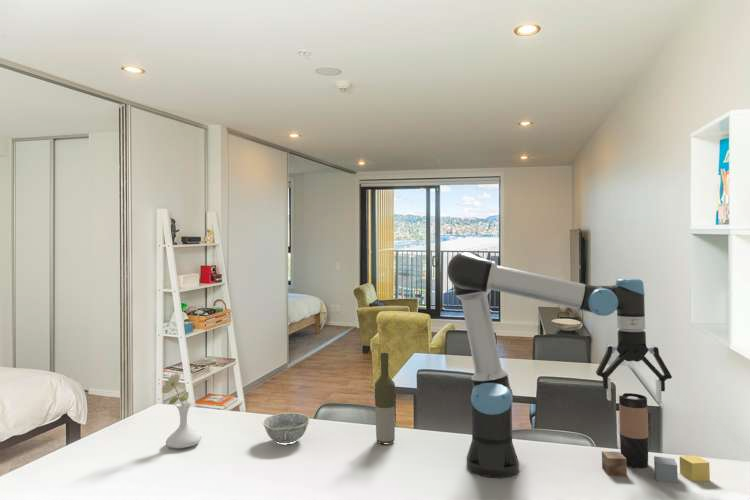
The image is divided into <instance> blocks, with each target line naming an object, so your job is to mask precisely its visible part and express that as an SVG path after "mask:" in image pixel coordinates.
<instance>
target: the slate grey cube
mask: <svg viewBox="0 0 750 500" xmlns="http://www.w3.org/2000/svg"><path fill="white" fill-rule="evenodd" d="M653 460H654V476H655V479H656V481H657V482H662V483H670V484H677V485H678V484H679V481H678V480H679V479H678V477H679V476H678V465H677V462H676V459H675V458H672V457H671V458H670V457H664V456H656V455H655V456H653Z"/></svg>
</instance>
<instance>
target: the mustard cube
mask: <svg viewBox="0 0 750 500" xmlns="http://www.w3.org/2000/svg"><path fill="white" fill-rule="evenodd" d="M679 474H680V475H681V476H683V477H684V478H686V479H688V480H690V481H691V482H707V481H708V482H709V481H710V479H711V476H710V475H711V472H710V462H709V461H707V460H706V459H704V458H702V457H700V456H698V455H682V456H681V455H679Z"/></svg>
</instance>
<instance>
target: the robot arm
mask: <svg viewBox="0 0 750 500" xmlns="http://www.w3.org/2000/svg"><path fill="white" fill-rule="evenodd" d="M446 270H447V277H448V279H449V281H450V282H451V283H452V284H453V288H454V295H455V297H456V298H458V299H459V300H460V301H461V305H462V306H461V307H462V312H463V317H464V322H465V328H466V332H467V337H468V342H469V347H470V353H471V359H472V363H473V364H472V365H473V368H474V373H473V375H472V376H471V383H472V390H471V396H470V401H471V443H470V445H469V448H468V451H467V455H466V468H468V470H469V471H471V472H472V473H474V474H476V475H479V476H483V477H488V478H499V479H500V478H508V477H512V476H514V475H516V474H517V473H518V472H519V471H520V464H519V463H520V461H519V458H518V455H517V452H516V448H515V446H514V442H513V402H514V400H513V399H514V395H513V390H512V389H511V386H510V380H509V375H508V372H507V371H505V370H504V369H503V368H502V365H501V360H500V355H499V350H498V345H497V339H496V334H495V327H494V325H493V318H492V314H491V310H490V309H491V308H490V304H489V298H488V295H489V293H490V292H491V291H496V292H500V293H504V294H507V295H508V294H509V295H512V296H513V295H514V296H518V297H522V298H525V299H526V298H528V299H530V300H531V299H532V300H534V301H539V302H540V301H541V302H545V303H550V304H553V305H557V306H562V307H566V308H571V309H576V310H578V311H583V312H589V313H592V314H595V315H596V316H603V317H604V316H606V317H607V316H610V315H612V314H613V313H615V311H616V314H617V317H616V322H617V323H616V327H617V328H618V330H617V346H616V345H615V346H614V345H611V344H607V345H606V351H605V353H604V355H603V357H602V359H601V361H600V363H599V365H598V366H597V369H596V371H595V374H596V375H597V376H598V377H601V378H602V387H603V388H604V390H605V389H606V399H607V401H610V402H612V387H611V386H612V383H611V382H612V381H611V380H612V379H611V378H610V376H611V375H612V374H613V373H614V371H615V370H617V368H618V367H619V366H620V365H621V364H622V363H623V362H625V361H626V362H636V363H637V362H638V363H639V362H641V361H642V362H643V363H644V365H646V366H647V367H648V368H649V370H651V371H652V373H653V374H654V375H656V377H657V378H656V379H655V396H656V397H655V399H656V402H657V403H658V404H662V400H663V399H662V396H663V395H662V392H665V390H666V380H670V379H672V378H673V376H672V375H671V372H670V371H669V369H668V367H667V365H666V364H665V363H664V360H663V359H662V357H661V356H660V353H659V352H660V351H659V350H660V349H659V347H658V346H656V345H652V346H647V336H646V334H647V333H646V332H645V330H646V316H645V315H646V313H645V311H646V309H645V308H646V307H645V306H646V305H645V296H646V295H645V294H646V293H645V288H644V287H645V286H644V282H643V280H642V279H640V278H618V279H616V281H615V284H613V285H591V284H585V283H581V282H576V281H572V280H567V279H562V278H558V277H554V276H549V275H545V274H540V273H534V272H529V271H526V270H521V269H516V268H512V267H508V266H507V267H506V266H501V265H497V263H496V262H495V261H494V260H490V259H485V258H483V257H482V256H481V255H480V254H478V253H475V252H471V251H469V252H468V251H464V252H460V253H457V254H455V255H454V256H453V257H452V258H451V259H449V262H448V264H447V269H446ZM615 352H618V355H617V356H616V358H615V359H614V361H612V362H611V364H610V365H609V366H608V367H607V364H608V363H609V361H610V359H611V357H612V355H613V354H614V353H615ZM648 352H649V353H650V354H651V355H652V356H653V357H654V359H655V361H656V362H657V364H658V365H659V368H660V369H661V371H662V373H663V374H662V373H661V372H660V371H659V369H657V368H656V367H655V365H654V364H653V363H652V362H650V360H649V359H648V358H647V357H646V355H647V353H648ZM606 367H607V368H606Z"/></svg>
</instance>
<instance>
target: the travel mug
mask: <svg viewBox="0 0 750 500" xmlns="http://www.w3.org/2000/svg"><path fill="white" fill-rule="evenodd" d="M618 398H619V399H618V401H619V405H618V407H619V411H618V412H619V419H618V420H619V445H620V453H621V454H622V455H623V456H624V457H625V458H626V459H627V467H631V468H634V469H646V468H648V466H649V419H648V417H649V415H648V398H647V396H645V395H642V394H639V393H629V392H628V393H627V392H626V393H623V394H622V395H620V394H618Z"/></svg>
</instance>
